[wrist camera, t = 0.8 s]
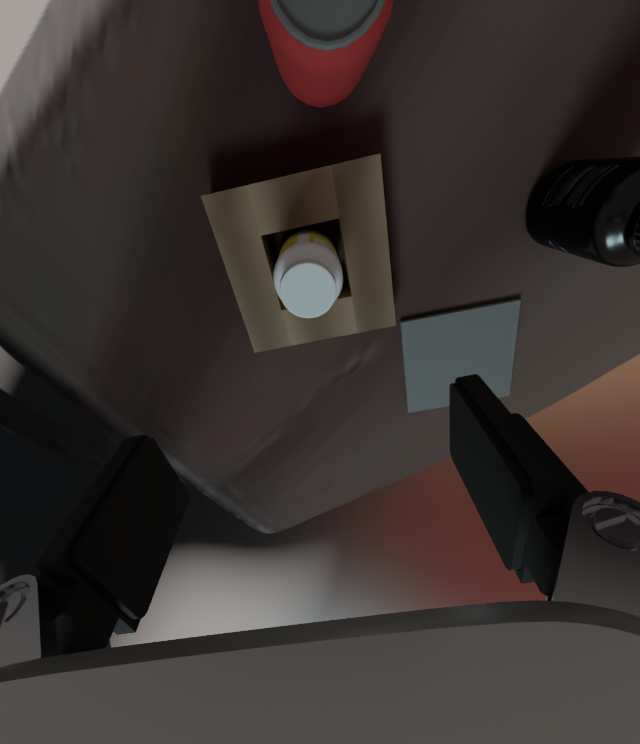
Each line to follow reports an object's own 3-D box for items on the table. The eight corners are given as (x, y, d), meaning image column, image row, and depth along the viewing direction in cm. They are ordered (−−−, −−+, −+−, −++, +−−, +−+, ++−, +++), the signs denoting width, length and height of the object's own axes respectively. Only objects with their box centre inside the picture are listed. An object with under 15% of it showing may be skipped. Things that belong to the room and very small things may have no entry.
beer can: (375, 90, 25) (420, 30, 15) (293, 122, 26) (281, 88, 15) (354, -35, 22) (392, -225, 11) (260, 7, 22) (217, -133, 12)
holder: (373, 155, 27) (380, 153, 24) (389, 314, 34) (395, 325, 31) (211, 194, 28) (200, 196, 26) (259, 339, 35) (254, 352, 33)
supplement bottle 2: (527, 258, 31) (631, 299, 21) (517, 183, 28) (635, 189, 18) (605, 225, 30) (757, 251, 20) (603, 143, 27) (785, 123, 17)
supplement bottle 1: (284, 290, 33) (274, 330, 24) (276, 231, 30) (261, 253, 21) (338, 285, 32) (348, 324, 24) (335, 226, 30) (345, 246, 21)
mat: (518, 298, 33) (520, 299, 33) (507, 393, 40) (509, 395, 39) (399, 321, 34) (400, 322, 34) (407, 410, 41) (408, 412, 40)
